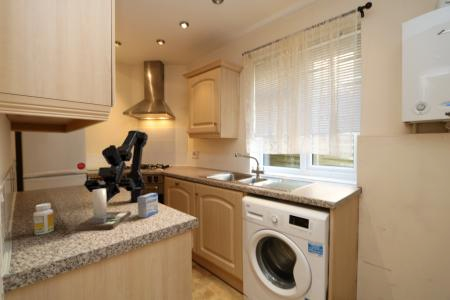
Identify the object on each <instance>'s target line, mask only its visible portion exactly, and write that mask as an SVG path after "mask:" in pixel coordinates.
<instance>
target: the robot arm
mask: <svg viewBox="0 0 450 300" xmlns="http://www.w3.org/2000/svg"><path fill="white" fill-rule="evenodd" d="M148 139H149V135H148V134H147V133H146V132H142V131H139V130H129V131H128V132H127V135H126V137H125V138H124V141H123V142H122V144H121V145H119V146H118V147H116V145H114V144H113V145H111V144H110V145H109V146H108V147H106V148H104V149H103V150H102V151H101V154H102V156H103V159H105V161H106V163H107V164H108V165H110V166H109V167H108V166H107V167H106V166H105V167H98V174H97V176H98V177H101V181H98V179H87V180H86V179H85V181H84V183H83V186H84V187H85V188H86V189H87V191H88V192H90V193H93V191H92V190H94V189H101V188H105V189H106V201H107V203H108V202H109V201H110V200H112V199H113V197H115V196H117V195H118V194H121V189H122V188H125V191H127V192H129V193H130V199H129V202H130V203H138V199H137V197H140V196H143V192H142V191H143V190H146V182H145V181H144V179H143V178H144V177H143V175H142V173H141V170H142V169H141V167H142V158H143V151H144V150H143V149H144V147H146V145H147V141H148ZM132 150H133V151H132ZM130 161H132V162H131V169H130V171H129V172H127V173H126V176H125V177H126V178H124V177H123V173H124V172H125V171H127V165H126V162H130Z"/></svg>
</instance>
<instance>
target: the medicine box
mask: <svg viewBox="0 0 450 300" xmlns="http://www.w3.org/2000/svg"><path fill="white" fill-rule="evenodd" d="M158 195H159V194H158V193H157V192H149V193H146V194H142V196H140V197H137V199H138V202H137V217H138V218H142V219H144V218H145V219H147V218H150V217H152V216H154V215H156V214H157V213H159V199H158V197H159V196H158Z"/></svg>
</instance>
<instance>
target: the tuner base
mask: <svg viewBox="0 0 450 300" xmlns="http://www.w3.org/2000/svg"><path fill="white" fill-rule="evenodd" d="M131 213H132V212H131V211H130V210H128V211H125V210H124V211H107V214H110V216H111V217H115V219H109V220H108V221H107V222H105V223H101V224H90V218H91V217H90V218H88V219H86V220H85V221H83V222H81V223H79V224H77V225H75V231H97V230H98V231H99V230H102V231H103V230H113V229H115V228H116V227H117V226H118V225H120V224H121V223H122V222H124V221H125V220H126V219H127V218H129V217H130V216H132V214H131Z"/></svg>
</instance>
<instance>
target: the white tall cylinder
mask: <svg viewBox="0 0 450 300" xmlns="http://www.w3.org/2000/svg"><path fill="white" fill-rule="evenodd" d="M92 191H93V192H92V209H93V211H92V212H93V216H91V217H90V224H101V223H105V222H107V221H108V220H109V219H115V217H111V216H110V214H107V212H108V205H107V203H108V202H107V201H106V189H105V188H101V189H94V190H92Z"/></svg>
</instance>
